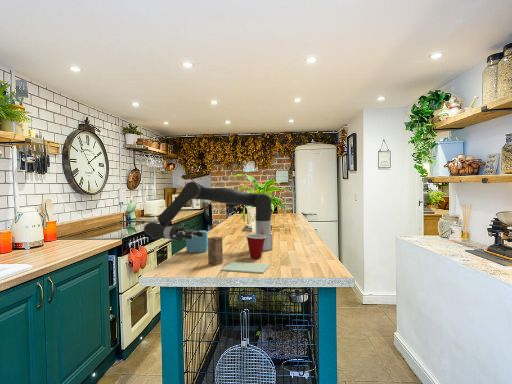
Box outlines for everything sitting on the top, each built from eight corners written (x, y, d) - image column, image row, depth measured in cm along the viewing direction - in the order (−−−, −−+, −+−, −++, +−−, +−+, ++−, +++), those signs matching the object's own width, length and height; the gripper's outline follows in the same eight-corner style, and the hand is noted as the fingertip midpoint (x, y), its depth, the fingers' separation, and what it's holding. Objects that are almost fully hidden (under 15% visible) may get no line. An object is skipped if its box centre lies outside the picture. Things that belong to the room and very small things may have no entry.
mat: (220, 270, 146) (220, 269, 146) (231, 263, 159) (231, 261, 159) (263, 273, 140) (263, 272, 140) (270, 265, 153) (270, 264, 153)
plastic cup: (264, 260, 164) (264, 237, 163) (244, 259, 166) (243, 236, 166) (268, 255, 174) (267, 233, 174) (248, 255, 176) (248, 233, 176)
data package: (208, 250, 190) (208, 230, 189) (206, 252, 185) (206, 231, 185) (188, 250, 191) (188, 230, 190) (186, 252, 186) (185, 231, 186)
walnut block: (208, 264, 157) (207, 238, 157) (214, 262, 161) (214, 236, 161) (216, 265, 154) (215, 238, 154) (222, 263, 159) (222, 237, 158)
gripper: (164, 227, 166) (187, 230, 157) (183, 224, 178) (206, 226, 169) (164, 242, 166) (187, 245, 157) (183, 238, 178) (206, 241, 170)
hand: (197, 235), depth 163 cm, fingers open, 8 cm apart
